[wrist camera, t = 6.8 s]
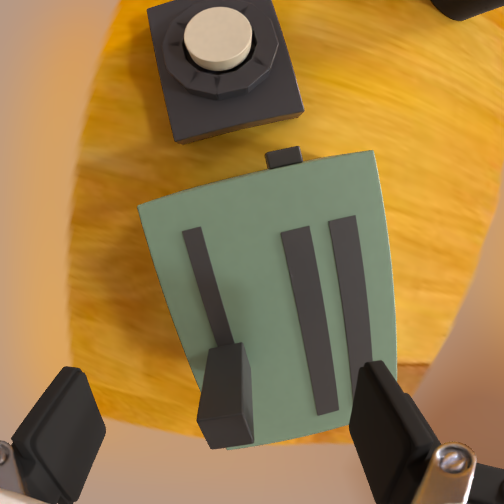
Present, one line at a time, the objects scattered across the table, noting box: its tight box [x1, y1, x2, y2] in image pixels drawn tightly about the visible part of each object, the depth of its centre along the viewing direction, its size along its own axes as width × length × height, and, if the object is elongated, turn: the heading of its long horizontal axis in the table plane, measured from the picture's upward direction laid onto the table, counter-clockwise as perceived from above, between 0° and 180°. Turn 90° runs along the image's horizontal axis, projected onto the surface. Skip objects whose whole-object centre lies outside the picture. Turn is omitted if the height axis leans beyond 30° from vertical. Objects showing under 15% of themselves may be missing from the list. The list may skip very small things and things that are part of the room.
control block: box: [147, 0, 305, 145], centre depth 17 cm, size 10×8×4 cm
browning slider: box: [197, 342, 254, 449], centre depth 12 cm, size 2×2×5 cm
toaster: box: [137, 146, 397, 450], centre depth 18 cm, size 15×10×9 cm
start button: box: [184, 7, 252, 71], centre depth 15 cm, size 4×4×2 cm
